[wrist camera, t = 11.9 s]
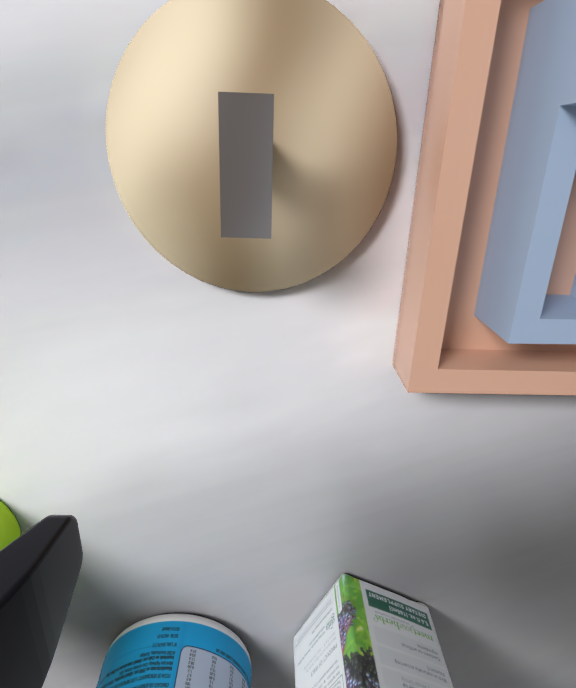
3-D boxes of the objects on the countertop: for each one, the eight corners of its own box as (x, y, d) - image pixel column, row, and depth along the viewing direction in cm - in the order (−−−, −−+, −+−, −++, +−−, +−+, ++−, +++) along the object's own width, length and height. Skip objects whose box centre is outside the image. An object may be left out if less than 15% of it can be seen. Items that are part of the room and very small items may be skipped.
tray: (762, -60, 15) (852, -99, 13) (618, 369, 21) (662, 397, 18) (449, -78, 14) (483, -121, 12) (392, 364, 20) (407, 392, 18)
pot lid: (410, -11, 15) (468, -79, 11) (377, 290, 19) (409, 335, 14) (94, -27, 15) (14, -104, 10) (125, 284, 19) (77, 328, 14)
